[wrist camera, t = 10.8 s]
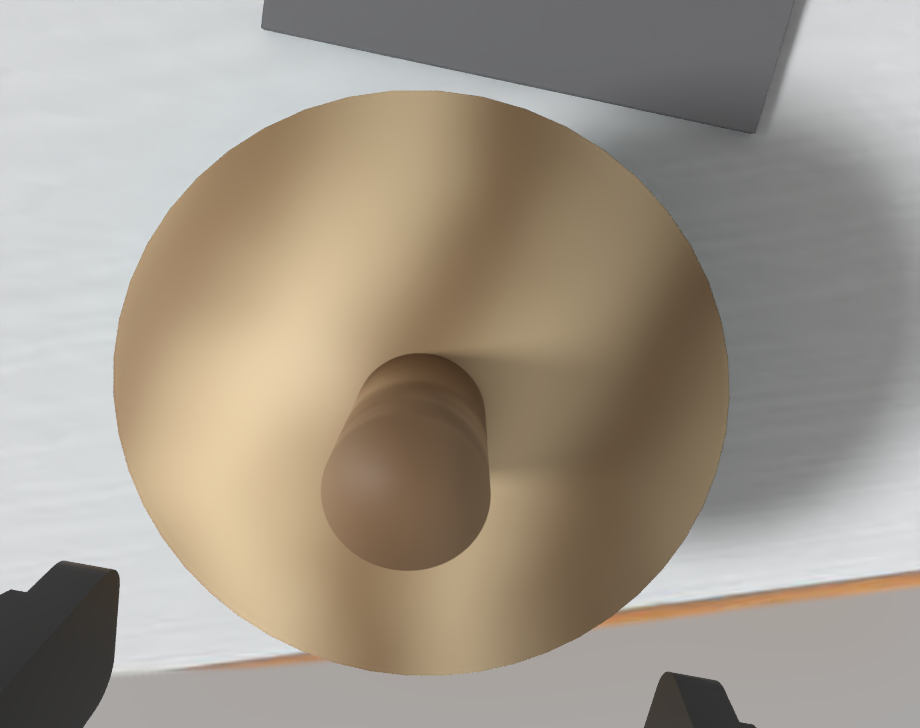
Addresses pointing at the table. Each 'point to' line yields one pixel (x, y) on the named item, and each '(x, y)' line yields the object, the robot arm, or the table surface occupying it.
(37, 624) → the robot arm
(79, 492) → the table surface
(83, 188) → the table surface
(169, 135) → the table surface
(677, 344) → the lid
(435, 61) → the mat
